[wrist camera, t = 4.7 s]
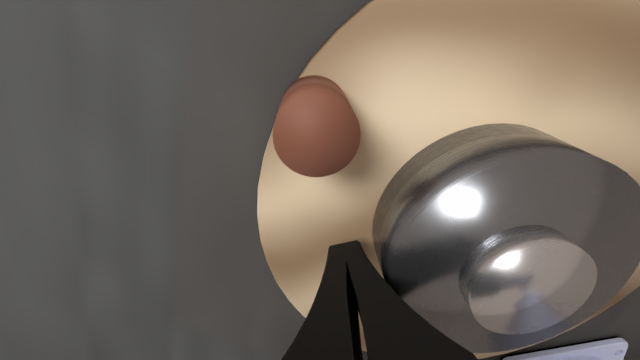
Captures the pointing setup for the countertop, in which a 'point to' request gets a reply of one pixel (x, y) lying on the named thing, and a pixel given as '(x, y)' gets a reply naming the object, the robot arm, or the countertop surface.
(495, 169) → the cover
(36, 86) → the countertop surface
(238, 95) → the countertop surface
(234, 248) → the countertop surface
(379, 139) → the beige round shallow disc
